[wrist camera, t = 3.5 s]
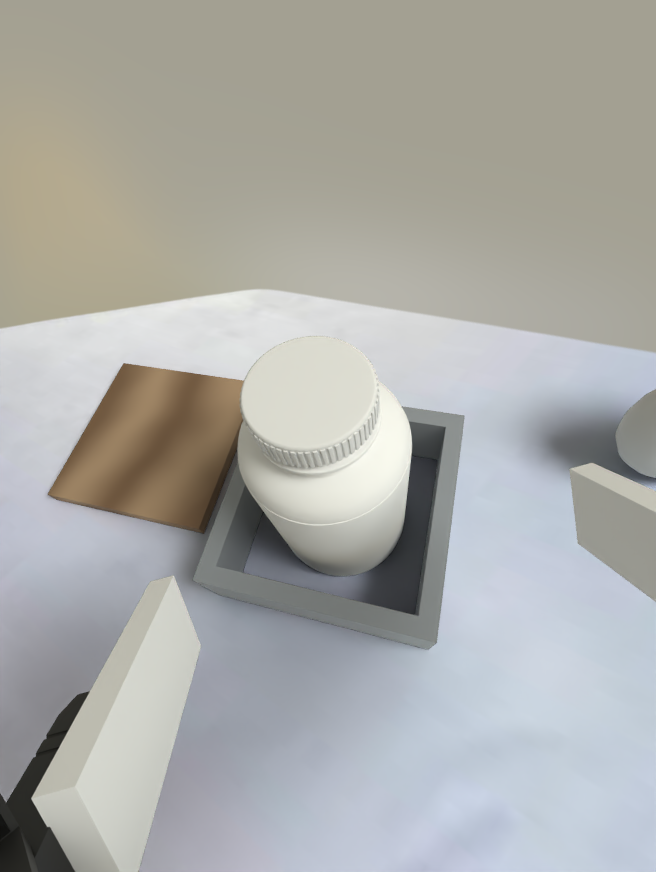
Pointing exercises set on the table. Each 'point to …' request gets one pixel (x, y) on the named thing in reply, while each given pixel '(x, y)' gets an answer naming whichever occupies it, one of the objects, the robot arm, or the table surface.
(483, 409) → the table surface
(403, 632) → the sleeve
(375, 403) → the pill bottle
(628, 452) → the donut
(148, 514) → the pad
